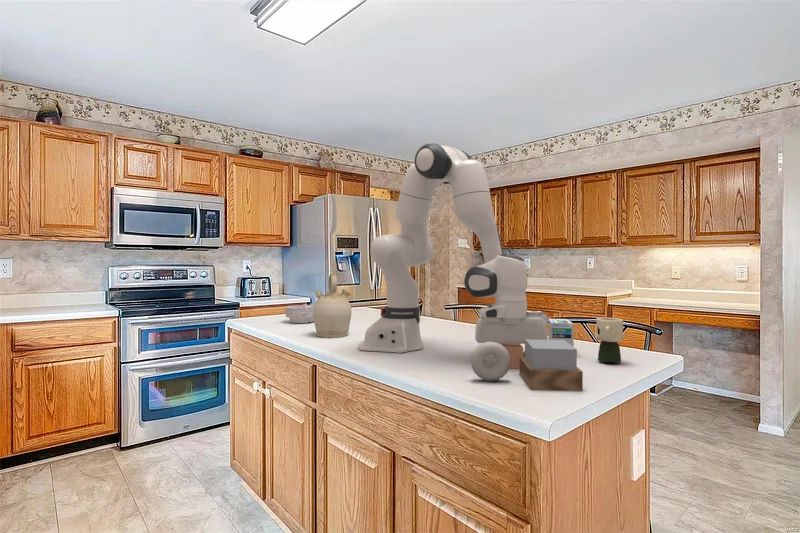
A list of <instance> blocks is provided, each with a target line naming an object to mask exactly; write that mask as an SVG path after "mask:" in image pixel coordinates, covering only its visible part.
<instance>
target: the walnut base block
mask: <svg viewBox="0 0 800 533" xmlns="http://www.w3.org/2000/svg"><path fill="white" fill-rule="evenodd" d="M583 373H584V372H583V370H581V369H580V368H579V367H577V370H540V369H532V367H531V366H530V364H529V363H528V362H527V360H526V359H525V357H520V369H519V376H520V378H521V379H522V380H523V382H524V384H526V386H527V387H528V389H529V390H530V391H562V392H563V391H564V392H565V391H567V392H583V390H584V389H583V388H584V387H583V376H584V375H583Z"/></svg>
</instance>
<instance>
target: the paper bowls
mask: <svg viewBox="0 0 800 533" xmlns="http://www.w3.org/2000/svg"><path fill="white" fill-rule="evenodd" d="M314 305H315V304H299V305H298V304H297V305H287V306H286V307H285V317H286V318H288V319H289V321H290V322H291V323H292V324H309V323H308V322H311V323H312V322H314V317H313V308H314Z"/></svg>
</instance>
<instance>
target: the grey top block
mask: <svg viewBox="0 0 800 533" xmlns="http://www.w3.org/2000/svg"><path fill="white" fill-rule="evenodd" d="M524 350H525V359H526V360H527V362H528V363H529V364H530V366H531V367H532V369H540V370H577V366H578V363H577V361H578V359H577V358H578V357H577V356H578V354H577V353H578V352H577V351H578V348H576V347H573V346H572V345H570V344H569V343H567V342H566V341H565V340H549V339H548V340H536V339H525V344H524Z"/></svg>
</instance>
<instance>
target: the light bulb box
mask: <svg viewBox="0 0 800 533" xmlns="http://www.w3.org/2000/svg"><path fill="white" fill-rule="evenodd" d="M547 326H548V340H565V341H566V342H567V343H569V344H570V345H572V346H573V347H574V345H575V344H574V338H575V336H574V331H575V326H574V323H573V322H572V321H570V320H569V319H568V318H549V317H548V324H547ZM574 348H575V347H574Z"/></svg>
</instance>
